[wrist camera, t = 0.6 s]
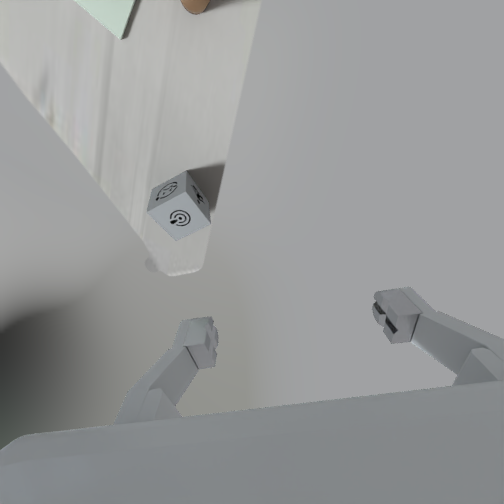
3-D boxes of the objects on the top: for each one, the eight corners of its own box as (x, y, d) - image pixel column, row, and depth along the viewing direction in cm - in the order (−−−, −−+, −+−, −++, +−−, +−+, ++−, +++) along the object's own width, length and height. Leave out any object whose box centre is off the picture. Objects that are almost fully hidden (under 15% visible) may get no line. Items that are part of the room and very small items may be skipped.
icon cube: (177, 217, 61) (176, 241, 54) (152, 189, 54) (146, 212, 47) (208, 201, 59) (210, 223, 52) (186, 170, 52) (185, 191, 45)
